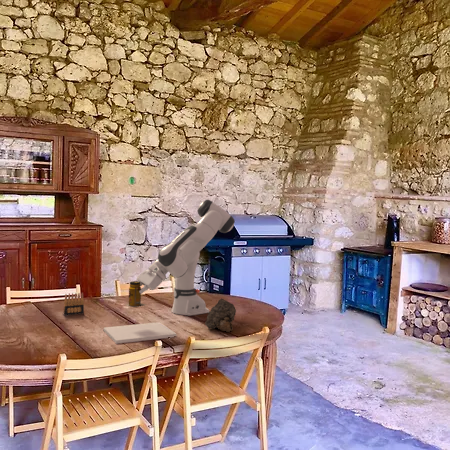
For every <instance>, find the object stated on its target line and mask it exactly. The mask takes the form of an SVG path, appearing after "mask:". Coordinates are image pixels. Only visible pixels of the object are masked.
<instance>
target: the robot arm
mask: <svg viewBox="0 0 450 450" xmlns="http://www.w3.org/2000/svg"><path fill="white" fill-rule="evenodd" d="M197 214H198V215H199V217H200V219H199V220H198V222H197V223H196V224H195V225H189V226H186V228H184V230H182V231H181V232H180V233H179V234H177V236H176V237H174V238H173V240H171V241H170V242H169V243H168V244H166V245H165V246H163V247H162V248H161V249H160V250H159V252H158V254H157V259H156V260H155V261H154V262H152V263H151V265H150V266H149V267H148V268H147V269H145V270H143V271H142V272H141V273H140V274H139V275H138V276H137V278H136V281H138V282H140V287H141V289H140V290H139V293H140V294H141V295H142V294H143V293H144V292H147V291H148V290H149V289H150V290H151V291H154V290H155V289H157V288H158V287H159V286H160V285H161V284H162V283H163V282H164V281H166V280H167V274H168V273H170V275H171V276H172V277H174V278H175V283H174V288H173V303H172V304H173V305H172V308H171V312H172V313H173V314H176V315H183V316H197V315H202V314H208V313H209V312H210V309H209V308H207V307H206V302H205V300H204V299H203V298H202V297H201V296H199V293H200V291H201V290H200V289H198V288H195V274H196V270H197V265H198V260H199V258H200V254H201V251H202V250H203V248H205V247H206V246H207V244H208V243H209V242H210V241H211V240H212V239H213V238H214V237H215V235H216V234H217V232H218V231H219V232H220V233H223V234H227V233H228V232H230V231H231V230H233V228H234V226H235V221H236V220H235V218H234V217H233V216H232V215H230V214H229V213H228V212H227V211H226V210H225V209H224V208H222V207H220V206H219V205H218V204H216V203H214V202H213V201H212V200H210V199H205V200H203V201H202V202H201V203H200V204H199V205H198V208H197ZM142 286H143V287H142Z"/></svg>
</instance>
